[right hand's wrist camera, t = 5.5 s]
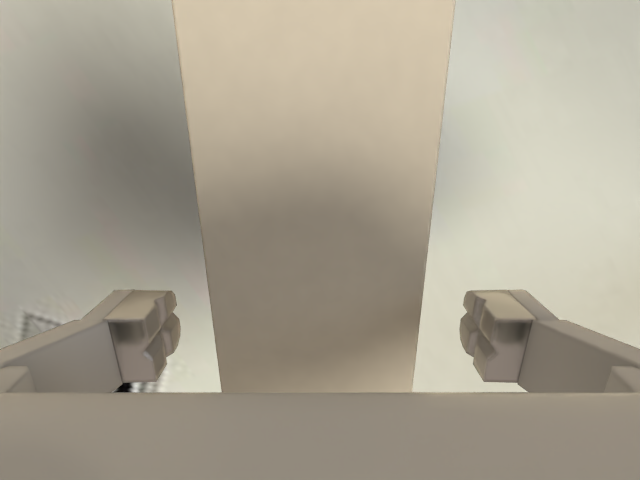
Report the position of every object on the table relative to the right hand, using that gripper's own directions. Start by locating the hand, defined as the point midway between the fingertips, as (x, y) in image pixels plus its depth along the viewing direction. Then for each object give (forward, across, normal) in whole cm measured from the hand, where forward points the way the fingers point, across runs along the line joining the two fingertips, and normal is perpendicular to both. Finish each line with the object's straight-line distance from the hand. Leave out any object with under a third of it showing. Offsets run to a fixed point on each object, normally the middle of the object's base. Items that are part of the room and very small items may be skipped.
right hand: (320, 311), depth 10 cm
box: (+9, 0, -10) cm, 13 cm away
